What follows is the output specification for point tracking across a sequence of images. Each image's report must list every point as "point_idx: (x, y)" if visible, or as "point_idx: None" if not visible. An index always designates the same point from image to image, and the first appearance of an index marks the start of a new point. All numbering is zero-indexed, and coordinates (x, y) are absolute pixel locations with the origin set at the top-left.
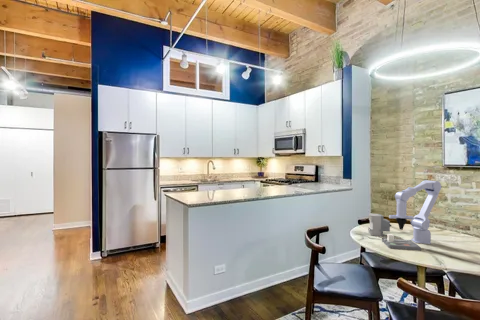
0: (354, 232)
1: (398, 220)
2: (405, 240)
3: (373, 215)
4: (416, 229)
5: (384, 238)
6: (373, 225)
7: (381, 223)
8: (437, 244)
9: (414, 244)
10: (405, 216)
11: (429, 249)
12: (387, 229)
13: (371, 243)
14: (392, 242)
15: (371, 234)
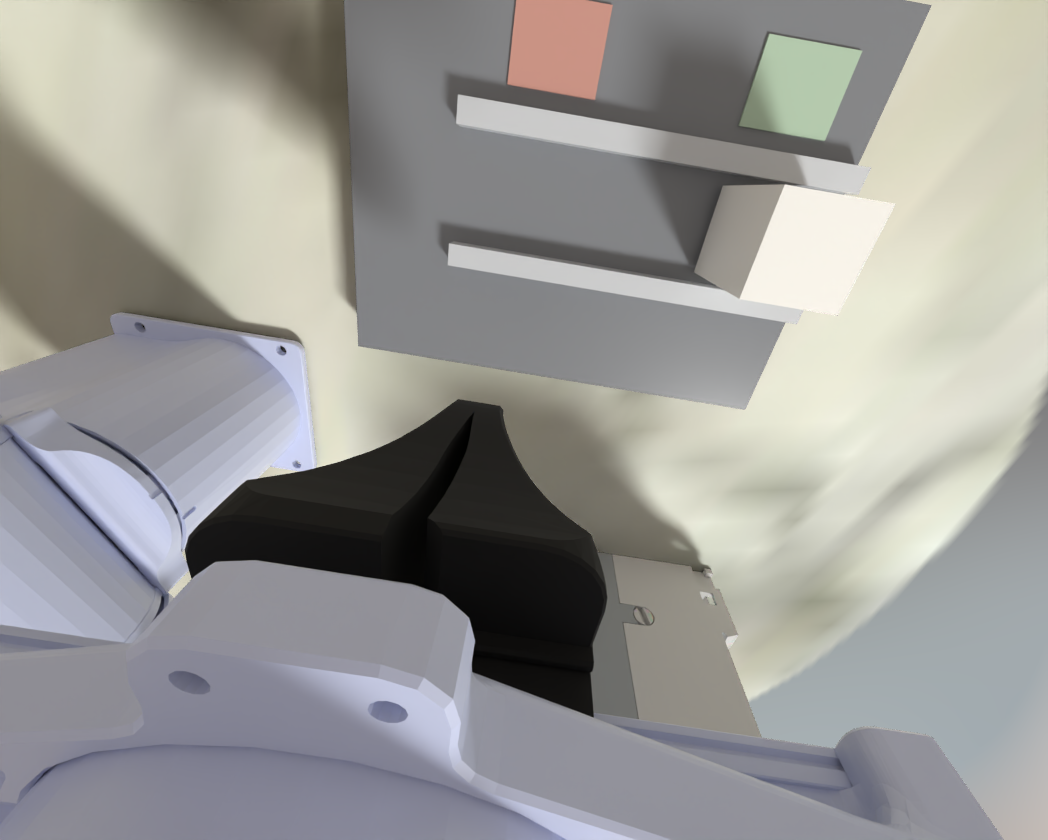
0: (829, 643)
1: (598, 566)
2: (442, 331)
3: None
4: (146, 476)
5: (714, 401)
6: (733, 689)
7: (629, 714)
8: (44, 310)
9: (388, 113)
10: (51, 802)
11: (194, 36)
12: None
13: (990, 277)
14: (771, 151)
15: (708, 581)
